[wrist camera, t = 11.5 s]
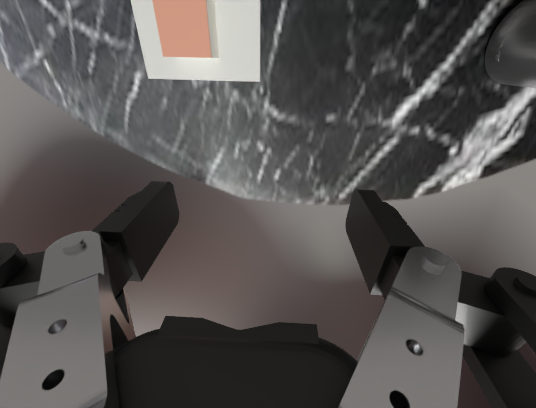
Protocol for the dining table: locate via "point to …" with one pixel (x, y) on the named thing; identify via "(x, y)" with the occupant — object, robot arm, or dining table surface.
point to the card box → (187, 28)
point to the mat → (229, 44)
